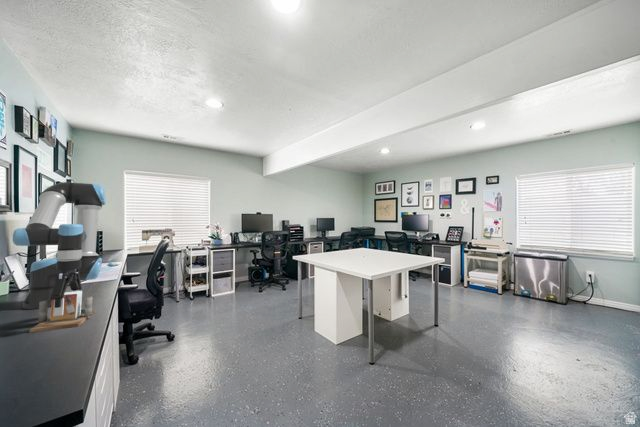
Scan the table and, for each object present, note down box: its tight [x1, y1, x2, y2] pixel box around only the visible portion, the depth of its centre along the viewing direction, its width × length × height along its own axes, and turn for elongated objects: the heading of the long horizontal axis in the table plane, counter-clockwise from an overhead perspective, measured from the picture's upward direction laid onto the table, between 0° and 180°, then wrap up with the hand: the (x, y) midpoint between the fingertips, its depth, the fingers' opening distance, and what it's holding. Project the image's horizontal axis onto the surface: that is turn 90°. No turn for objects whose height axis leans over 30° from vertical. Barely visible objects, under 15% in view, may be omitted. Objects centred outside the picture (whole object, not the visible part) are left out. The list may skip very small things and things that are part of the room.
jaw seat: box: [29, 296, 96, 333], centre depth 106 cm, size 18×17×9 cm
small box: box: [49, 290, 83, 321], centre depth 106 cm, size 8×6×10 cm
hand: (66, 310), depth 106 cm, fingers open, 13 cm apart
